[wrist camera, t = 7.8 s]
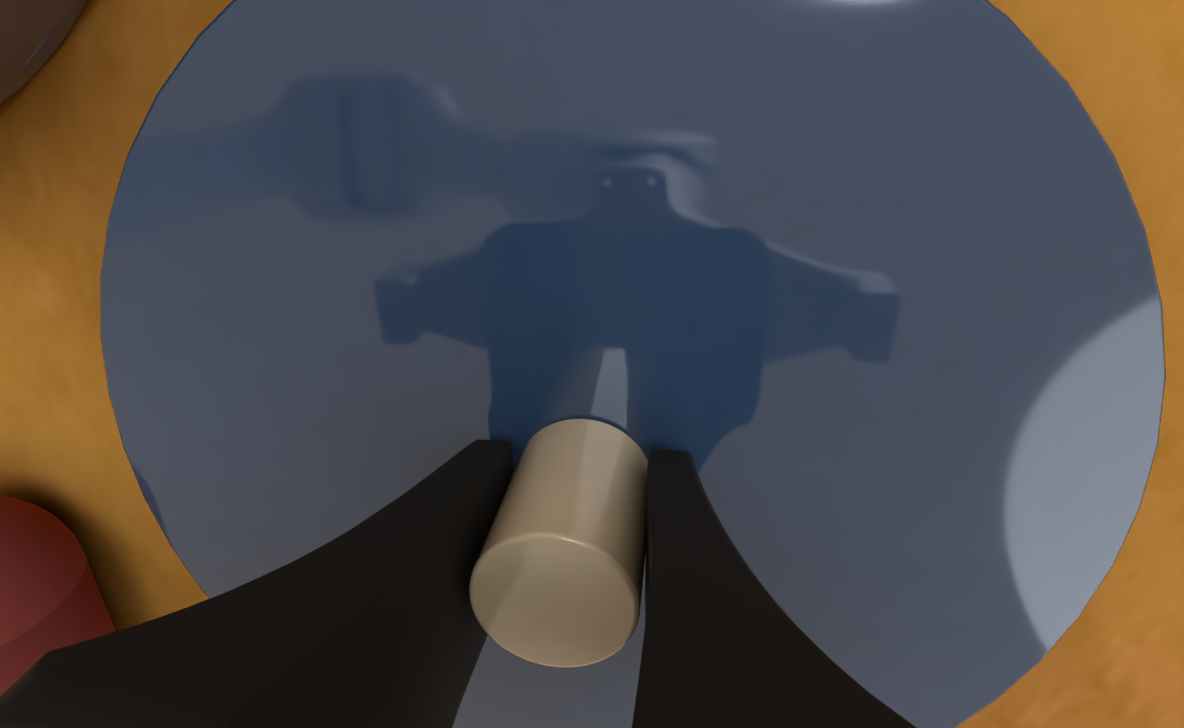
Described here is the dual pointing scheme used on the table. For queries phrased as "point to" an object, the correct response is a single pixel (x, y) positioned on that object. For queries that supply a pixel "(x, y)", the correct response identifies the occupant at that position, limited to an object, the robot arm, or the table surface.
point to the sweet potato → (42, 589)
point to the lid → (647, 319)
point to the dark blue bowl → (31, 37)
